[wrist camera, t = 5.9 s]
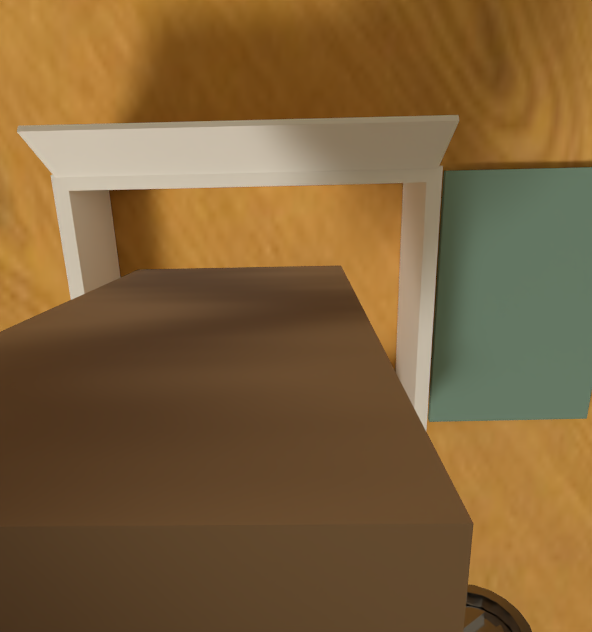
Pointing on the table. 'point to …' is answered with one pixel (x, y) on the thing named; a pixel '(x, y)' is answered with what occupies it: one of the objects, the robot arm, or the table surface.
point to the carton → (252, 171)
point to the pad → (513, 296)
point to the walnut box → (220, 465)
